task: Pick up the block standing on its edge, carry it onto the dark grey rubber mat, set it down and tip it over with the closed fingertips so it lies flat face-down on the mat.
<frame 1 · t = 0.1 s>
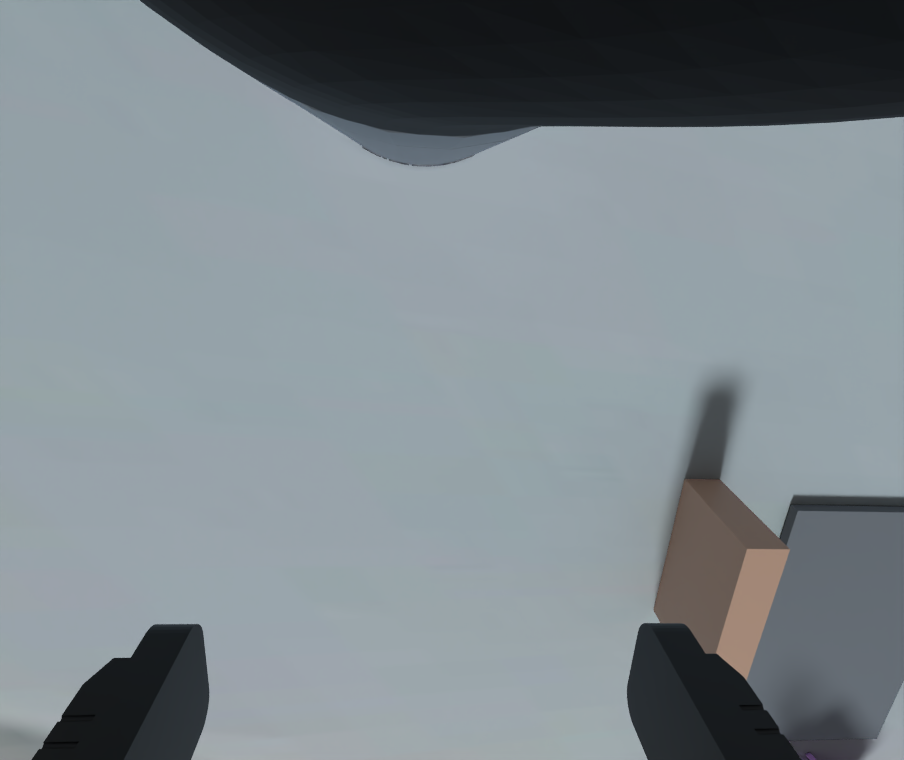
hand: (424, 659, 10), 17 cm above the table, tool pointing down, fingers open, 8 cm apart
block: (684, 547, 31), on the table
mat: (834, 629, 34), on the table
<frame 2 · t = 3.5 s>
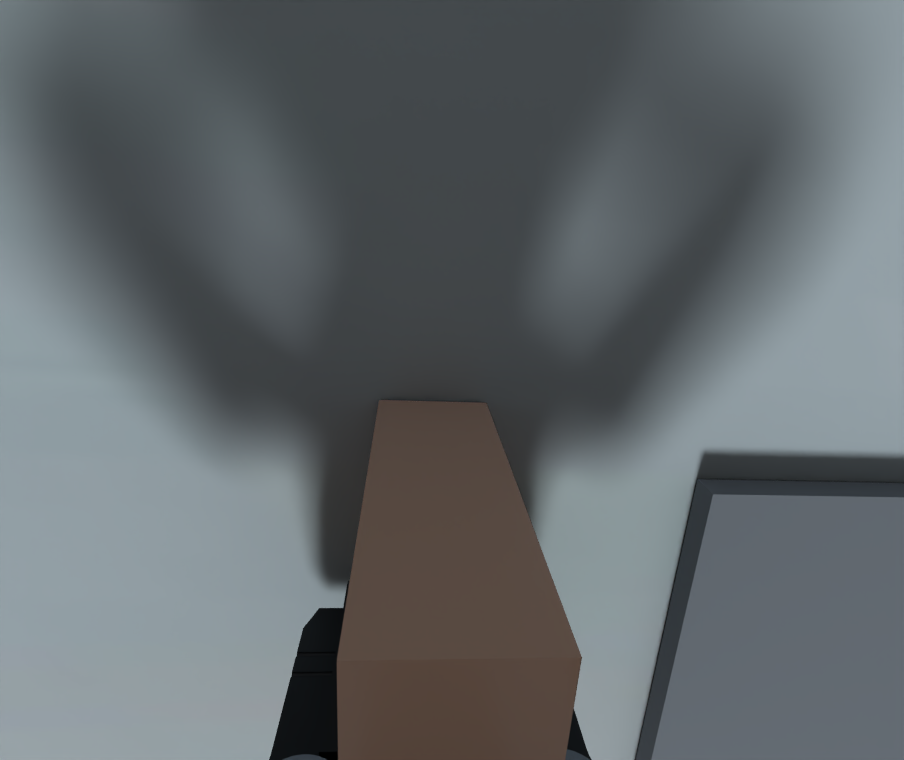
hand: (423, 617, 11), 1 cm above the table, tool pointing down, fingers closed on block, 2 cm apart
block: (423, 600, 11), on the table, touching gripper
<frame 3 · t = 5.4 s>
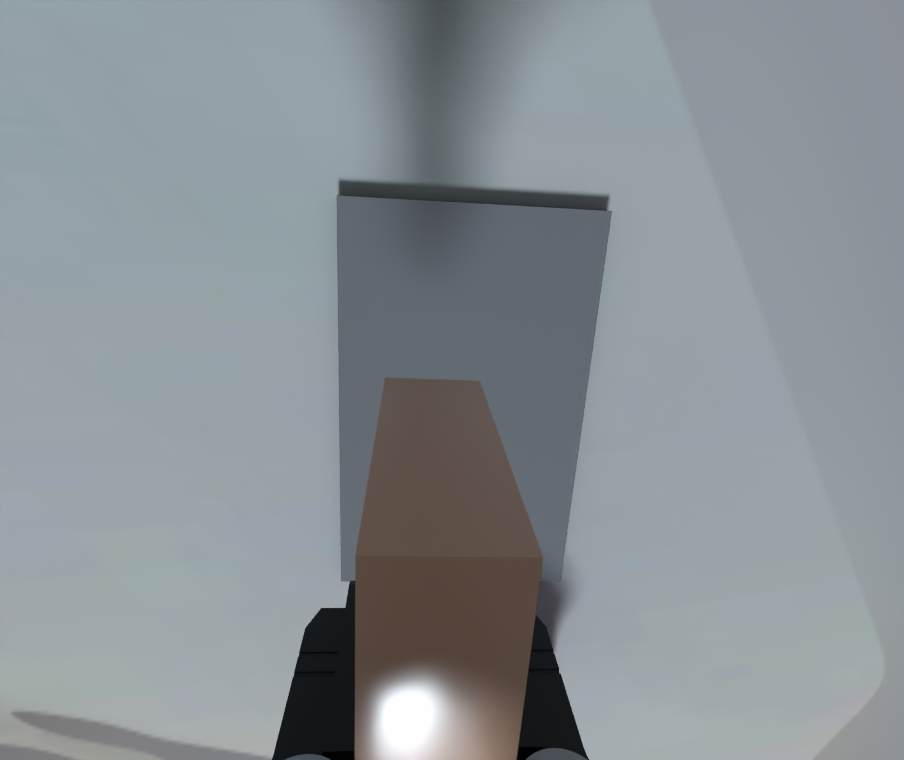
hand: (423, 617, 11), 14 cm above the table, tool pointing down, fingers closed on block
block: (423, 559, 13), point 12 cm above the table, touching gripper
mat: (462, 409, 25), on the table
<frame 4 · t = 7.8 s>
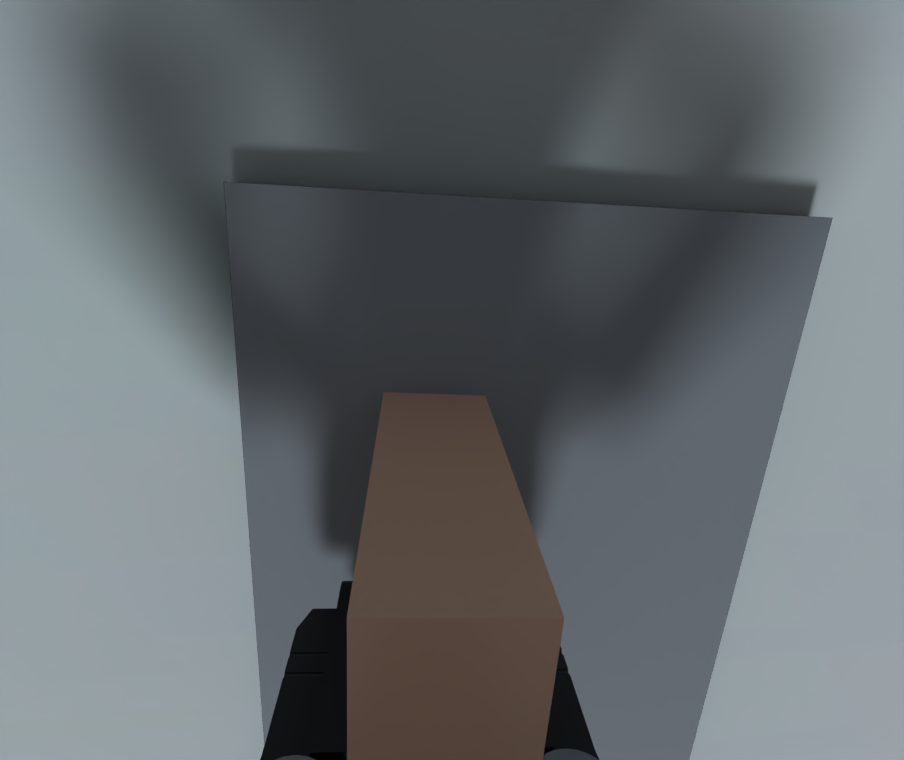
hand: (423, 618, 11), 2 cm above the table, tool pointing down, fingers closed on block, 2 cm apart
block: (424, 584, 12), point 1 cm above the table, touching gripper, mat
mat: (496, 594, 13), on the table
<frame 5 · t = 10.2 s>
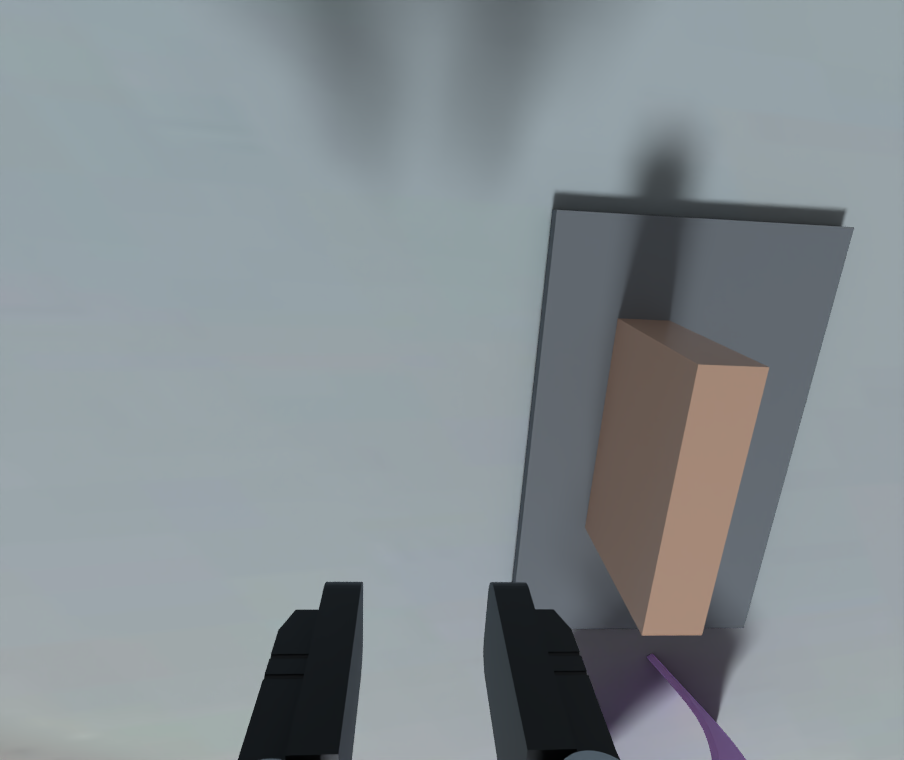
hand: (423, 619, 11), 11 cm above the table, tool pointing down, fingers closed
block: (624, 430, 22), point 1 cm above the table, touching mat
toy chair: (620, 725, 28), on the table
mat: (657, 443, 23), on the table
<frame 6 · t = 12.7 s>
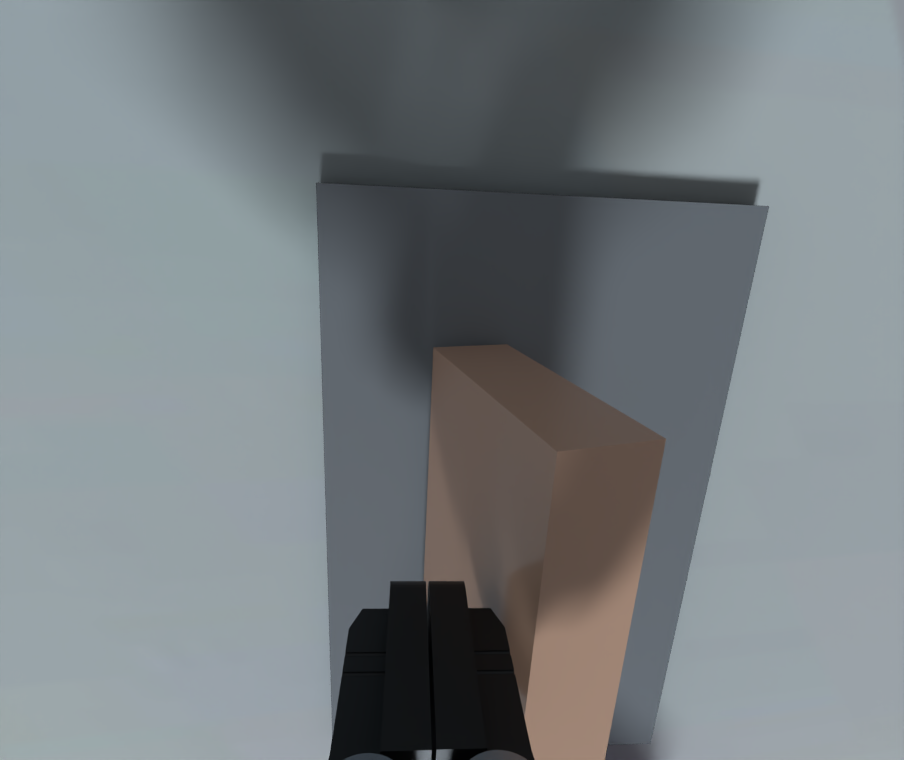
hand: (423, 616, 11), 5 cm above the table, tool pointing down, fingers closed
block: (460, 501, 15), point 1 cm above the table, tilted 16°, touching mat
mat: (514, 510, 16), on the table
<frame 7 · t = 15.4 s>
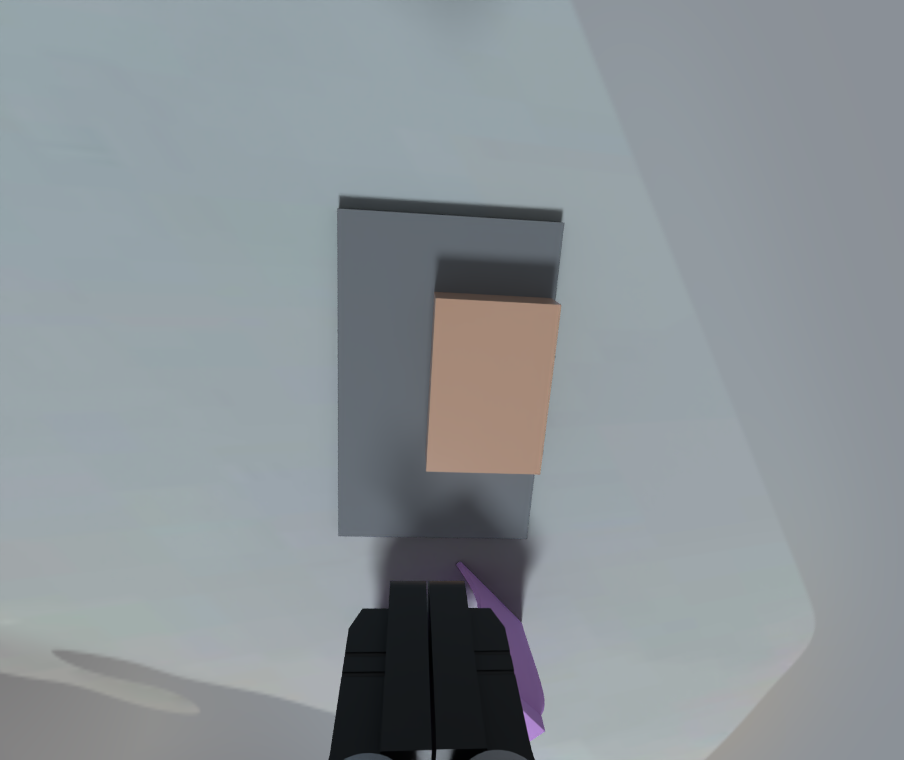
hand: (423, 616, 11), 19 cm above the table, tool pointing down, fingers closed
block: (430, 382, 28), point 2 cm above the table, tilted 90°, touching mat
toy chair: (443, 624, 35), on the table
mat: (441, 388, 29), on the table
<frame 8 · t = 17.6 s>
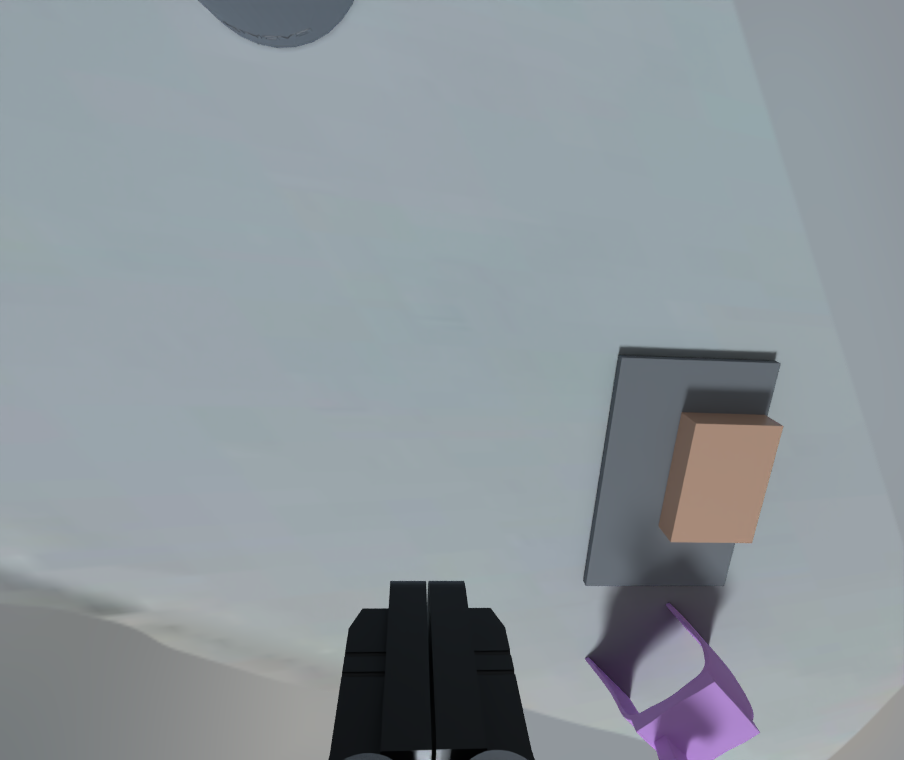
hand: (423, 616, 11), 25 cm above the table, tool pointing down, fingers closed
block: (676, 477, 38), point 2 cm above the table, tilted 90°, touching mat
toy chair: (648, 649, 45), on the table
mat: (673, 477, 39), on the table
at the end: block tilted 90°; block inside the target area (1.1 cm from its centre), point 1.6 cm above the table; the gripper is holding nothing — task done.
